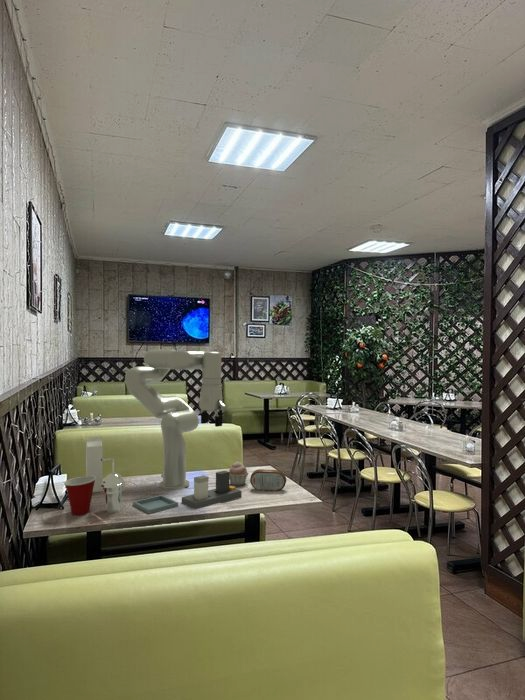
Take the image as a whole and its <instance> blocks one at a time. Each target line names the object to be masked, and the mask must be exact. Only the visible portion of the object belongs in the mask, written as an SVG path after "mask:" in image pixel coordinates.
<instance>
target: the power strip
mask: <svg viewBox="0 0 525 700" xmlns="http://www.w3.org/2000/svg"><path fill="white" fill-rule="evenodd" d="M236 487H237V486H233V485H229V492H227V493H223V494H218V493H216V488H213V489H208V498H204V499H200V500H197V499H195V498H194V493H192V494H190V495H185V496H181V504H184V505H186V506H188V507H190V508H192V509H194V510H196V509H200V508H203V507H208V506H211V505H214V504H217V503H220V504H222V503H225V501H226V502H229V501H232V499H233V500H236V499H240V498H242V490H241V489H237V488H236ZM235 498H236V499H235ZM228 500H229V501H228Z"/></svg>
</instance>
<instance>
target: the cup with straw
mask: <svg viewBox="0 0 525 700" xmlns="http://www.w3.org/2000/svg"><path fill="white" fill-rule="evenodd" d="M101 461H103V462H107V461H109V462H110V461H112V462H111V463H112V465H111V467H112V468H111V469H112V470H111V473H108V474H107V475H106V476H105V477H104V478H103V480H102V483H101V487H102V491H103V493H104V502H105V510H106V512H108V513H117V512H119V511H120V508H121V504H122V503H121V502H122V496H123V495H122V493H123V489H124V486H125V485H127V484H126V481H125V479H124V478H123V476H122V475H121V473H118V472H115V459H114V458H103V459H101Z"/></svg>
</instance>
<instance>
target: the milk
mask: <svg viewBox="0 0 525 700" xmlns="http://www.w3.org/2000/svg"><path fill="white" fill-rule="evenodd" d="M103 446H104V445H103V438H102V436H92V437H91V436H90V437H86V442H85V476H94V477H96V479H95V482H94V487H93V493H99V492H103V487H101V483H102V482H103V481H104V478H103V472H104V470H103V466H104V465H103V464H104V463H103V462H104V461H101V459H104V458H103V454H104V453H103V452H104V451H103V450H104V449H103V448H104V447H103Z"/></svg>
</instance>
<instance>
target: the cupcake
mask: <svg viewBox="0 0 525 700" xmlns="http://www.w3.org/2000/svg"><path fill="white" fill-rule="evenodd" d="M228 472H229V485H230V486H234V487H241V486H244V485H245V484H246V482H247V481H246V480H247V478H248V476H249V474H250V473H249V472H248V470H247V468H246V466H245V465H244V464H243V463H241V462H240V461H239V460H237V461H235V462H234V463H233V464H232V465H231V466H230V468H229V470H228Z"/></svg>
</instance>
